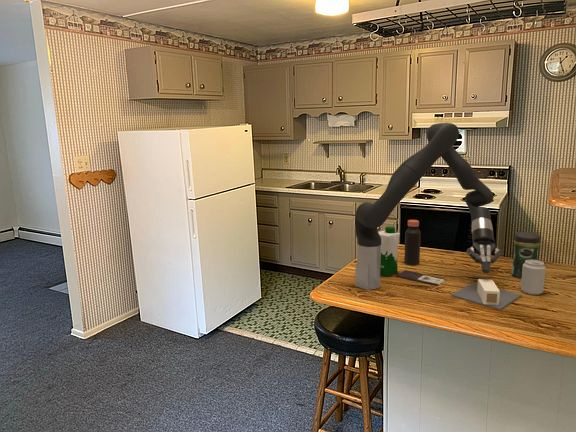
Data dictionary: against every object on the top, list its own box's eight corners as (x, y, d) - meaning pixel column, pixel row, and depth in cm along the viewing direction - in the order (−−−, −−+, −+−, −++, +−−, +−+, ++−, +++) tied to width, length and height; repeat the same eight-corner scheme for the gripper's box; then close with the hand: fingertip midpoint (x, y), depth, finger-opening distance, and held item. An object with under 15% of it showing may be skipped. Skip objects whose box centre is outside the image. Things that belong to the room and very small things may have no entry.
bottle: (401, 262, 203) (402, 220, 199) (412, 260, 206) (413, 218, 202) (411, 266, 197) (413, 223, 193) (422, 264, 200) (424, 221, 196)
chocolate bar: (405, 270, 191) (446, 278, 179) (405, 272, 191) (445, 281, 180) (395, 275, 184) (437, 284, 173) (395, 277, 184) (437, 287, 173)
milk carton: (400, 273, 188) (402, 228, 184) (386, 278, 183) (388, 231, 179) (384, 268, 195) (385, 225, 191) (370, 273, 189) (371, 228, 185)
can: (531, 296, 160) (534, 265, 158) (515, 289, 168) (518, 259, 165) (547, 294, 162) (551, 263, 160) (531, 287, 169) (534, 257, 167)
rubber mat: (500, 310, 149) (500, 308, 149) (450, 296, 163) (450, 294, 162) (521, 296, 161) (521, 294, 161) (473, 284, 174) (473, 282, 174)
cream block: (491, 292, 164) (499, 305, 152) (477, 291, 165) (483, 304, 153) (492, 279, 163) (500, 291, 151) (477, 279, 164) (484, 290, 152)
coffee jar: (537, 274, 184) (541, 231, 180) (537, 280, 177) (541, 235, 173) (511, 271, 188) (515, 229, 185) (510, 277, 181) (514, 233, 178)
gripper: (465, 226, 169) (469, 266, 159) (503, 227, 166) (508, 268, 156) (462, 236, 175) (465, 275, 166) (498, 237, 172) (503, 278, 163)
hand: (486, 272), depth 161 cm, fingers closed
